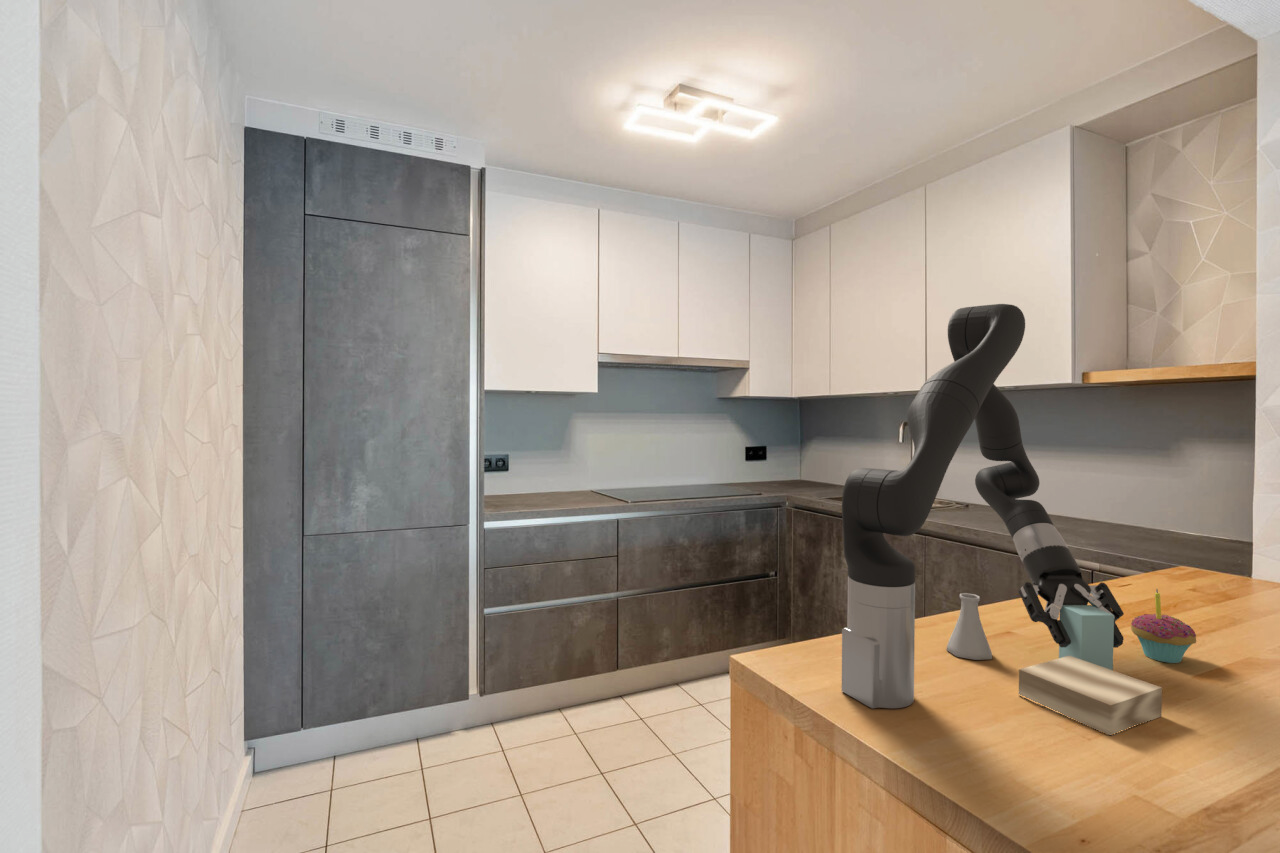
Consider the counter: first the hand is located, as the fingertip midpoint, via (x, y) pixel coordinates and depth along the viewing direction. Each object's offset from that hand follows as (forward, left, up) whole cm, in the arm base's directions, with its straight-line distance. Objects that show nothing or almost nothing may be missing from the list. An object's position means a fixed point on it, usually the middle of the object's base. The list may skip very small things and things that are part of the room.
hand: (1092, 645), depth 96 cm
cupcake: (+19, -1, -5) cm, 19 cm away
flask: (-9, +14, -5) cm, 18 cm away
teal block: (+1, +1, -5) cm, 5 cm away
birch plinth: (-11, -6, -5) cm, 14 cm away
